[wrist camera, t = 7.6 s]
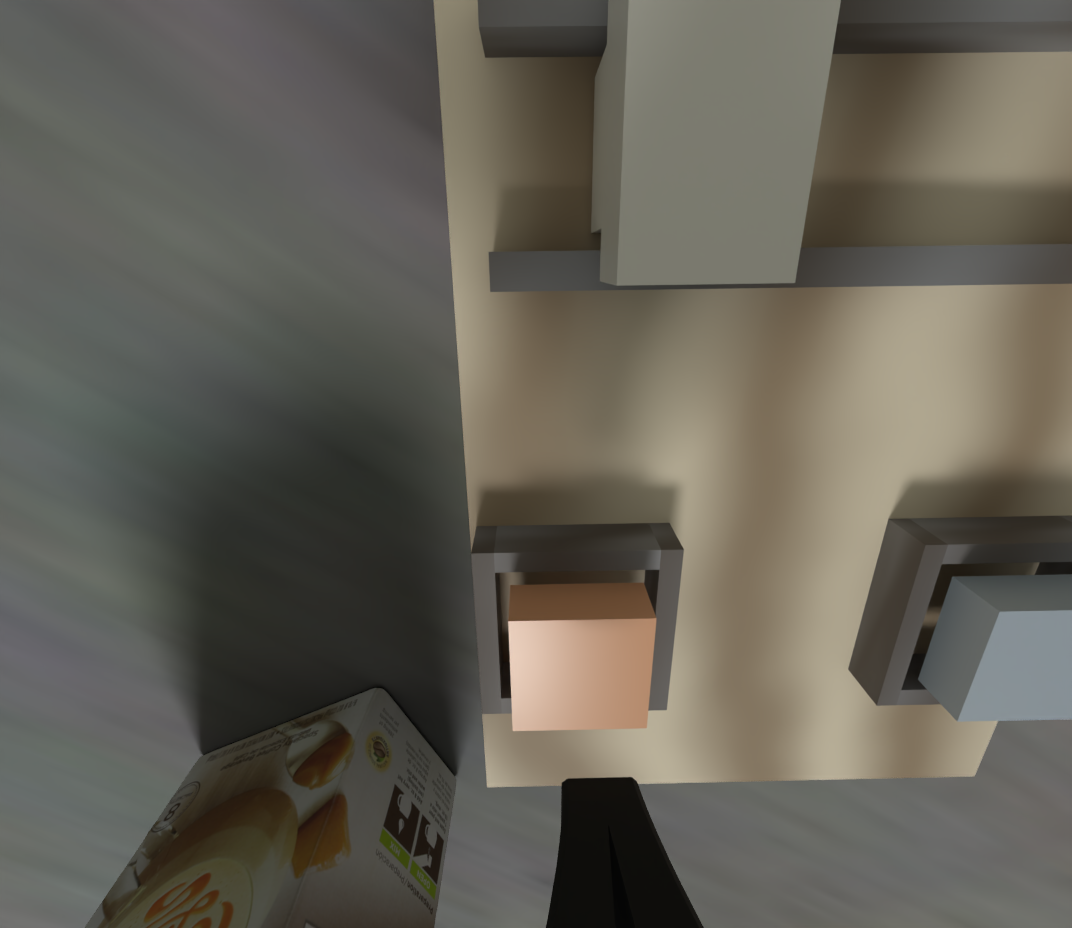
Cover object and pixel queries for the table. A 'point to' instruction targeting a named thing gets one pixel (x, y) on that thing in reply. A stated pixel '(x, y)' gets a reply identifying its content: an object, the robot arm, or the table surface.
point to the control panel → (769, 392)
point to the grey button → (1003, 649)
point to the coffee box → (298, 830)
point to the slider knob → (707, 138)
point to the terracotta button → (580, 656)
